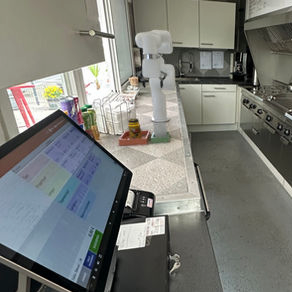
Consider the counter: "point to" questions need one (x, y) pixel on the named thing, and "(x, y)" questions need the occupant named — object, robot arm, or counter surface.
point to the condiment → (134, 129)
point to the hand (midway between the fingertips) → (153, 87)
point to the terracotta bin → (126, 141)
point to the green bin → (160, 139)
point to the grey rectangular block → (160, 129)
